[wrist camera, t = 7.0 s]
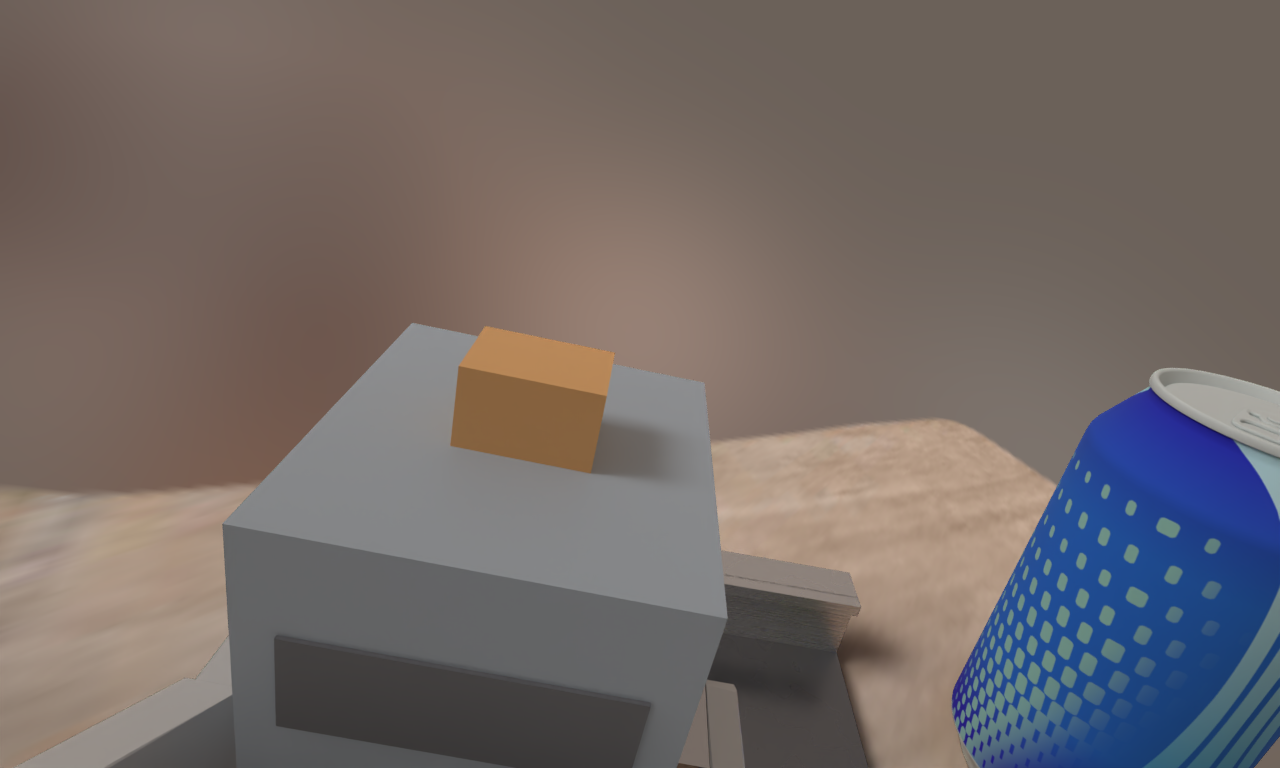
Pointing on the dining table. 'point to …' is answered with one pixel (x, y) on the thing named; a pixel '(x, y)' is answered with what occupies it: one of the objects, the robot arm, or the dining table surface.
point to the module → (480, 566)
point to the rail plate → (788, 662)
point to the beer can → (1143, 595)
